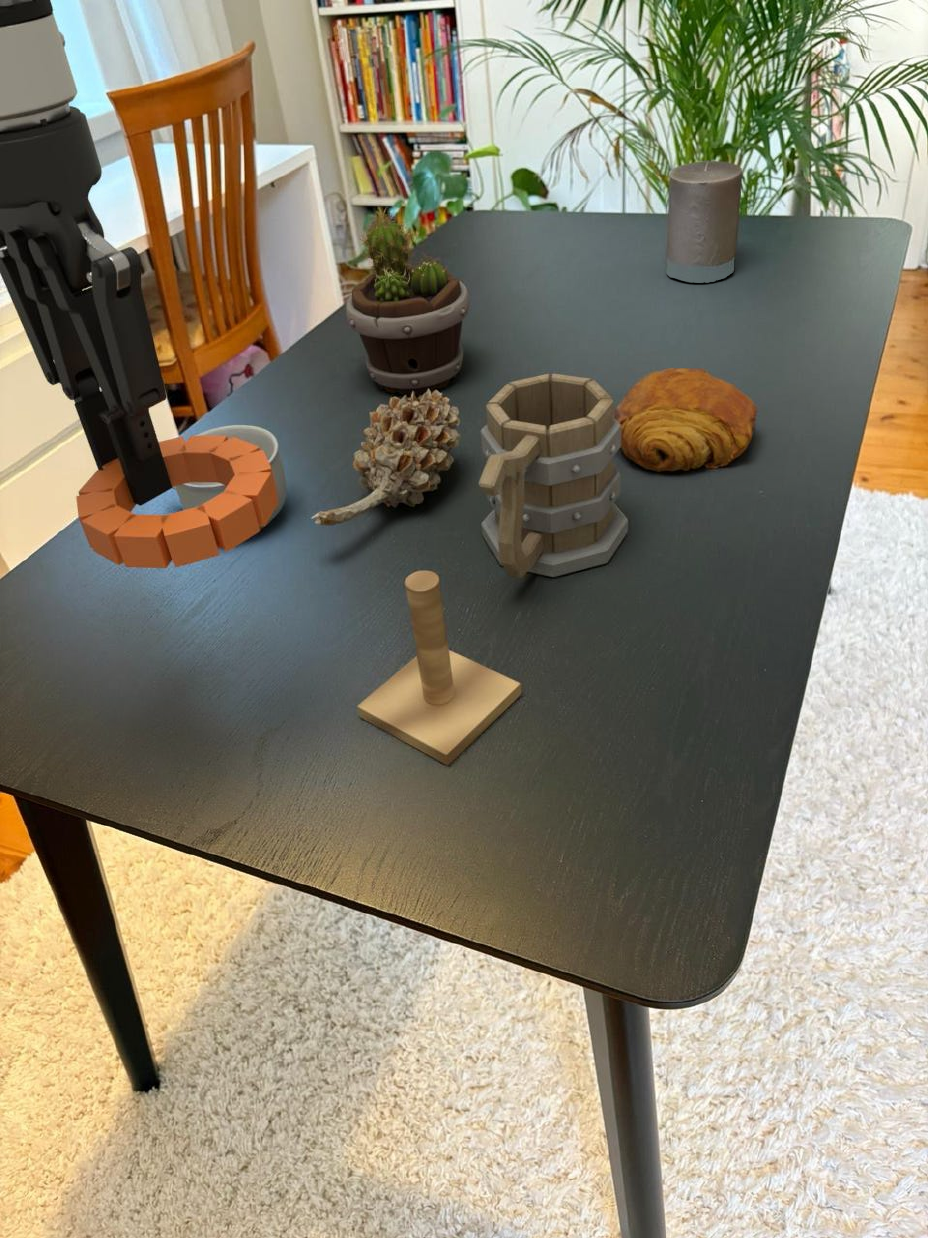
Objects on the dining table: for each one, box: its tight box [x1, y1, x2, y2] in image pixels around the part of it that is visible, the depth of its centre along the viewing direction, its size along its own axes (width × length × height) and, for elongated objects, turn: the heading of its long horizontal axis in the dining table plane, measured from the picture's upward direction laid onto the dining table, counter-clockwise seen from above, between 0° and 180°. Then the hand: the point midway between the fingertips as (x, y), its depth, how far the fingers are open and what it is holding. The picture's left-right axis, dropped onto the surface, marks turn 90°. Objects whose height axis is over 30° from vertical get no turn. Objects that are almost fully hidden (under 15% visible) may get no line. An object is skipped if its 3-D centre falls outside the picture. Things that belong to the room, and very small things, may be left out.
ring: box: [75, 435, 278, 569], centre depth 64 cm, size 12×12×2 cm
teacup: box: [172, 424, 288, 530], centre depth 97 cm, size 14×11×8 cm
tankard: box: [478, 373, 629, 579], centre depth 85 cm, size 20×13×15 cm, turn 152°
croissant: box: [613, 367, 759, 473], centre depth 101 cm, size 14×16×8 cm
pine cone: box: [310, 388, 462, 526], centre depth 95 cm, size 22×10×10 cm, turn 155°
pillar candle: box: [666, 160, 743, 267], centre depth 135 cm, size 10×10×15 cm
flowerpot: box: [345, 205, 470, 396], centre depth 115 cm, size 14×15×20 cm
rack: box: [356, 570, 522, 766], centre depth 72 cm, size 9×9×12 cm
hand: (138, 487), depth 67 cm, fingers closed on ring, 3 cm apart
